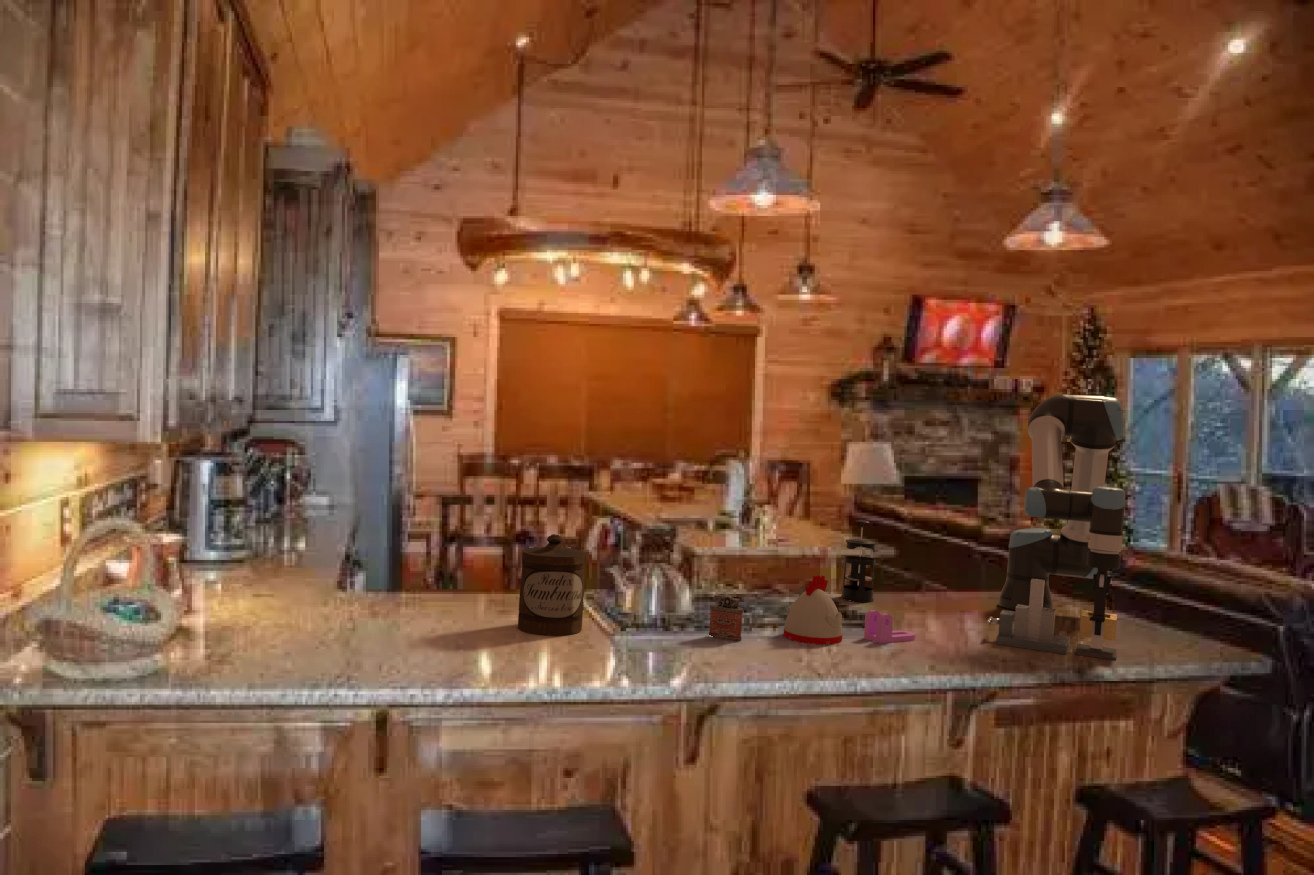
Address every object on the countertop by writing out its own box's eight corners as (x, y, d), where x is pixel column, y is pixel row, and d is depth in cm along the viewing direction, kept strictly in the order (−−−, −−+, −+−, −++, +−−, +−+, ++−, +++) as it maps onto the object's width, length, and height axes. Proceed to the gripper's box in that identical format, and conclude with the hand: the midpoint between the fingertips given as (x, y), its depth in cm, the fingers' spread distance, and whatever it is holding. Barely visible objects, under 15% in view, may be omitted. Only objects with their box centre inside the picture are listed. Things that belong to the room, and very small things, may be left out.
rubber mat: (1077, 645, 271) (1077, 643, 271) (1116, 651, 268) (1116, 648, 268) (1075, 654, 261) (1075, 652, 261) (1116, 660, 257) (1116, 657, 257)
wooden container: (520, 635, 245) (526, 538, 244) (515, 621, 259) (520, 529, 258) (586, 636, 248) (591, 540, 247) (577, 622, 262) (582, 531, 261)
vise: (989, 633, 279) (994, 571, 279) (1068, 644, 272) (1073, 580, 271) (983, 642, 268) (988, 577, 268) (1066, 654, 261) (1071, 587, 260)
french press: (877, 603, 312) (883, 523, 311) (845, 601, 312) (850, 521, 311) (867, 595, 324) (873, 518, 323) (836, 594, 324) (841, 517, 323)
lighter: (743, 639, 254) (746, 597, 254) (738, 642, 251) (741, 599, 251) (711, 634, 258) (714, 592, 257) (706, 637, 255) (708, 594, 254)
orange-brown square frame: (1080, 630, 269) (1081, 610, 269) (1115, 635, 266) (1117, 614, 266) (1079, 636, 262) (1080, 615, 262) (1115, 640, 259) (1116, 620, 259)
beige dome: (853, 640, 262) (857, 578, 261) (820, 647, 252) (824, 583, 251) (805, 629, 271) (809, 569, 271) (772, 635, 261) (776, 573, 261)
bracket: (879, 643, 260) (881, 614, 260) (863, 638, 265) (865, 610, 265) (919, 640, 267) (921, 612, 266) (903, 635, 272) (905, 607, 271)
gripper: (1088, 545, 274) (1081, 635, 275) (1086, 554, 255) (1078, 650, 256) (1121, 548, 271) (1113, 639, 272) (1120, 558, 252) (1113, 655, 253)
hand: (1096, 644), depth 264 cm, fingers closed on orange-brown square frame, 8 cm apart
